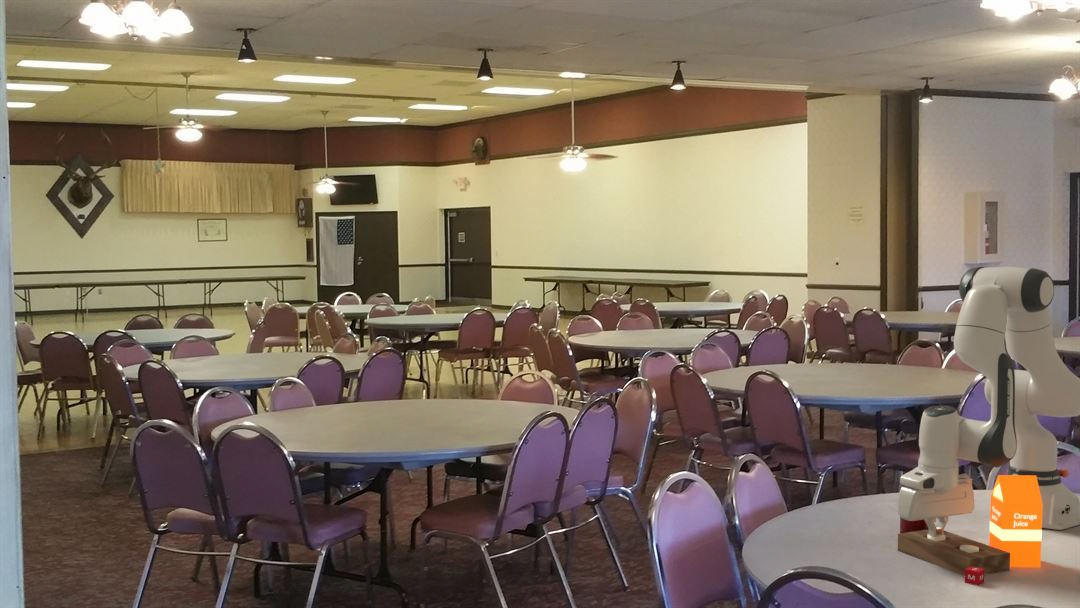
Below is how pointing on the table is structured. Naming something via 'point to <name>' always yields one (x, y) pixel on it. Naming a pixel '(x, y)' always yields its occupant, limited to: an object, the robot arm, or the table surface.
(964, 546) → the knob
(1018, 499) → the orange juice
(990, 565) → the knob mount
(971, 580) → the dice
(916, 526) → the soda can
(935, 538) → the knob
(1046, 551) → the table surface
